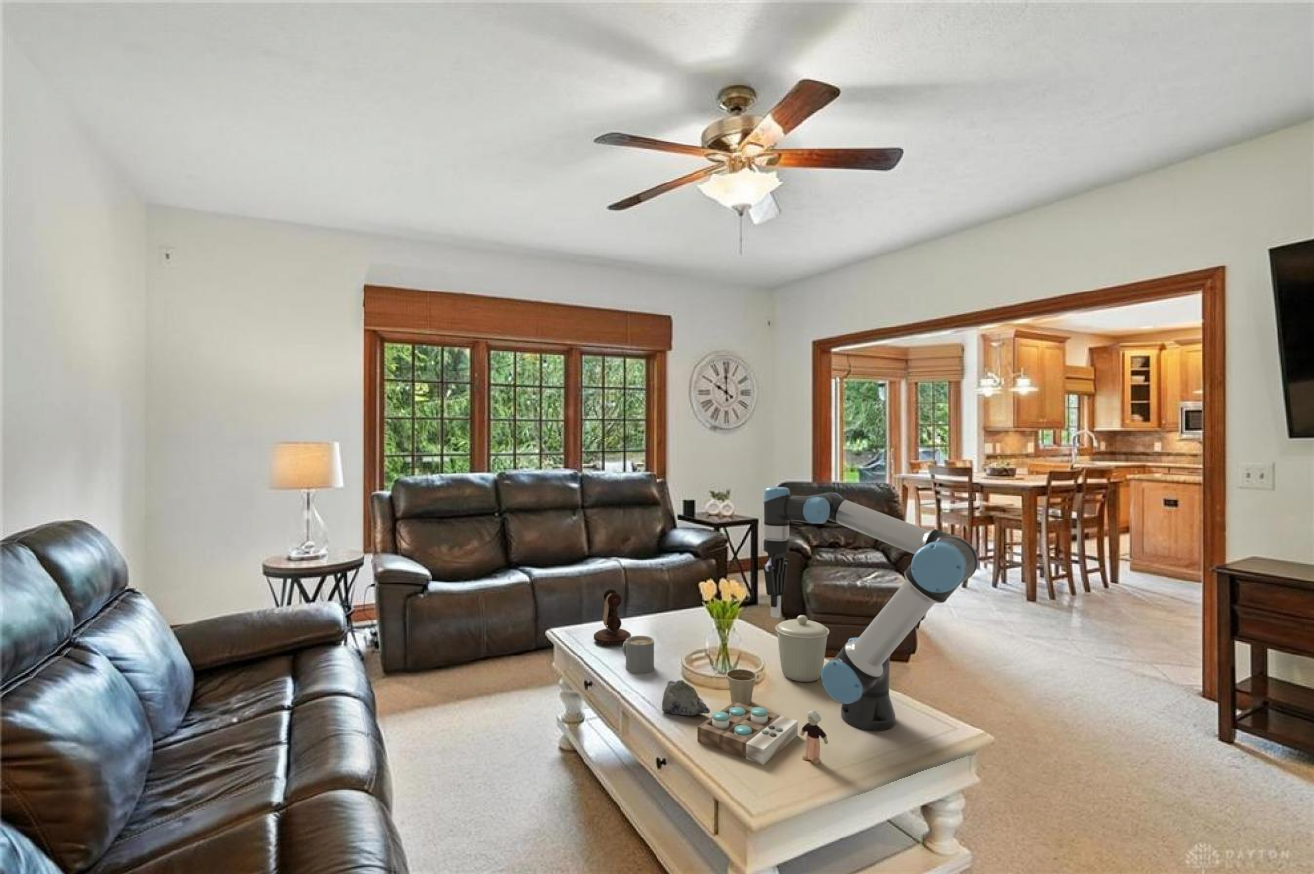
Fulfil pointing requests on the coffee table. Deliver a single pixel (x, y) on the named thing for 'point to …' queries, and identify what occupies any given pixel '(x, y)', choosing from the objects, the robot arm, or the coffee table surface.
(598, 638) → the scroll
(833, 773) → the coffee table surface
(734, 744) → the button board
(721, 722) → the button
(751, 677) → the flower pot
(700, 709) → the mineral rock
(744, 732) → the button
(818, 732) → the grandmother figurine
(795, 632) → the canister
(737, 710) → the button
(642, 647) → the coffee mug
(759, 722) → the button
